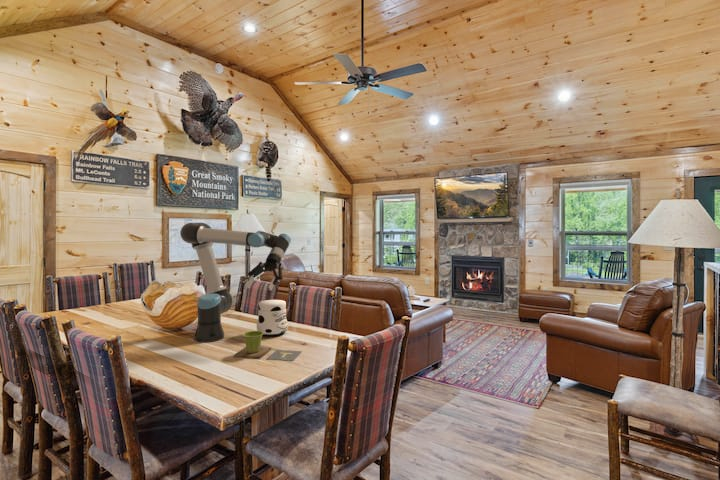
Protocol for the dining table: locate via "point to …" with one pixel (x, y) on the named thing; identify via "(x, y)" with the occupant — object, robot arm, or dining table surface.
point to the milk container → (272, 317)
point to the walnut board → (256, 355)
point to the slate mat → (284, 355)
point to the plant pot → (253, 341)
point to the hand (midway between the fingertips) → (258, 288)
